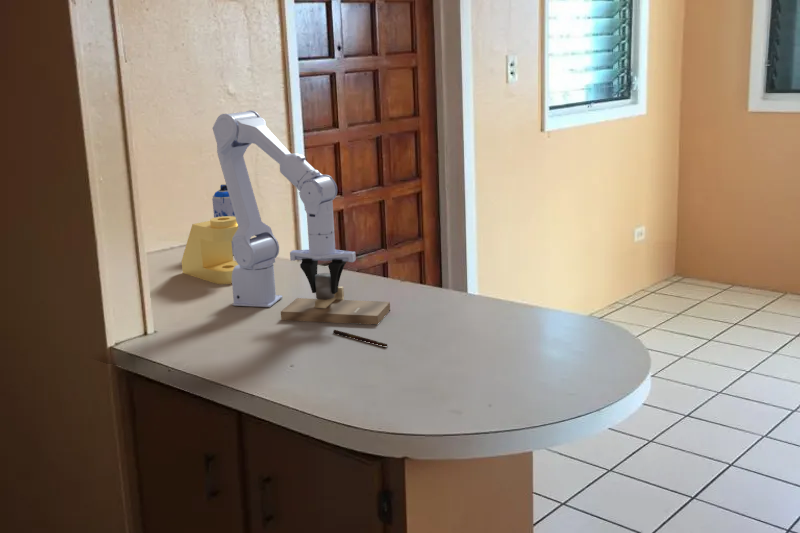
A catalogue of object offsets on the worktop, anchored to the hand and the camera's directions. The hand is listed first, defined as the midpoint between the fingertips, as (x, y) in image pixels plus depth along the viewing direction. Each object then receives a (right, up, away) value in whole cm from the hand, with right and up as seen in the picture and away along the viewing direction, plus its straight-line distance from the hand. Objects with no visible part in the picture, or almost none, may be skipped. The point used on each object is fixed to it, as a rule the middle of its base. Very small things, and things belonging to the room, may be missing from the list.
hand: (324, 292), depth 189 cm
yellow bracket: (-31, +3, +36) cm, 48 cm away
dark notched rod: (+8, -10, -16) cm, 21 cm away
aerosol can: (-33, +10, +61) cm, 70 cm away
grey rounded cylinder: (0, -4, +2) cm, 4 cm away
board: (+3, -5, 0) cm, 6 cm away
